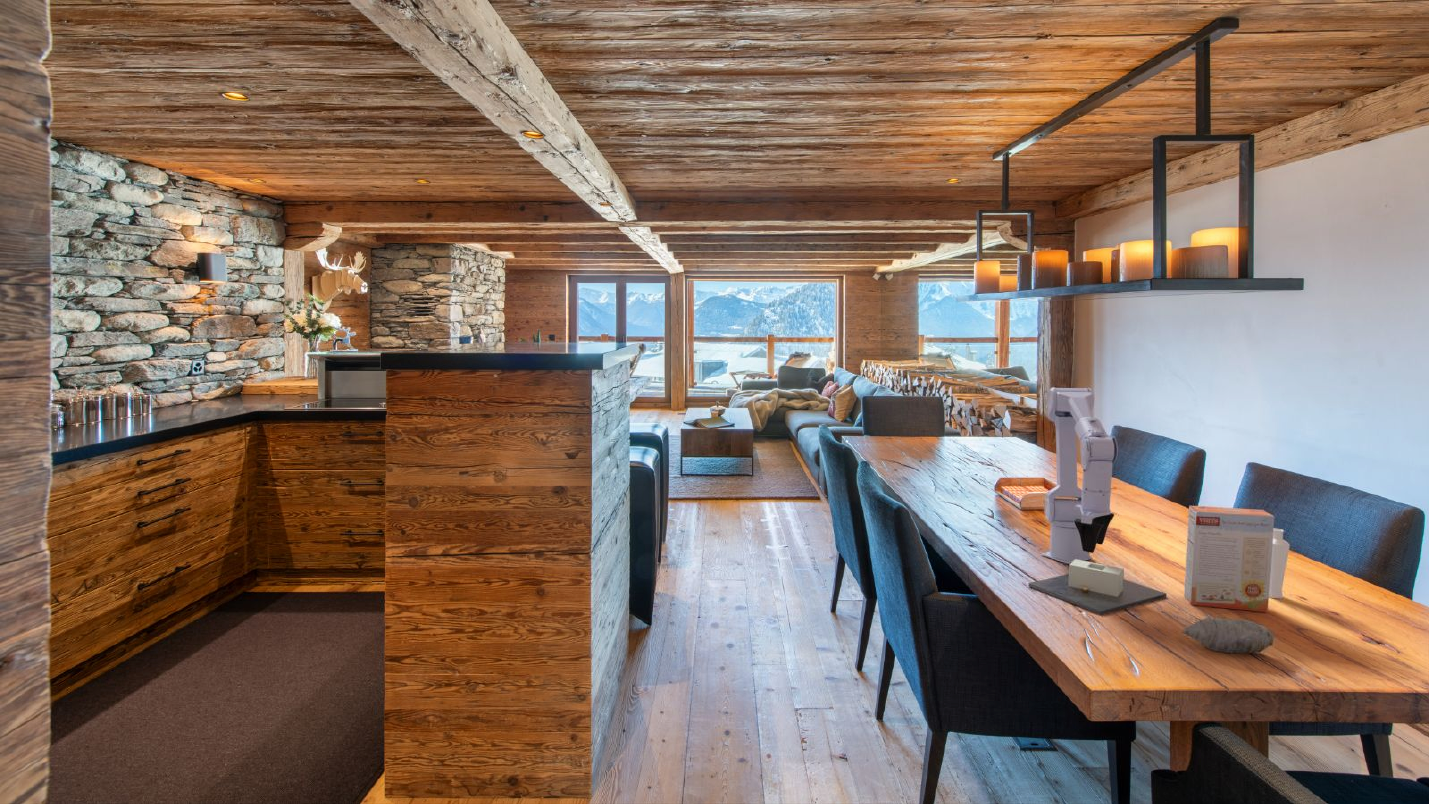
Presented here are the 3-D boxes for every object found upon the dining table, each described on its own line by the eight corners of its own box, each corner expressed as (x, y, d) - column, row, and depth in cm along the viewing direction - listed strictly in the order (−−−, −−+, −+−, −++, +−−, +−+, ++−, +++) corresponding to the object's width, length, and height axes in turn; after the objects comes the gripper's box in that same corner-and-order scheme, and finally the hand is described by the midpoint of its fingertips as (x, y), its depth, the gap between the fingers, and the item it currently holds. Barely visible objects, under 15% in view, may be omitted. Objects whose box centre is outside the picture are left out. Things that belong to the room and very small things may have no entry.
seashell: (1174, 623, 137) (1198, 591, 133) (1247, 656, 134) (1273, 625, 131) (1182, 643, 131) (1207, 610, 128) (1259, 678, 128) (1287, 646, 125)
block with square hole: (1122, 590, 159) (1123, 568, 158) (1117, 596, 155) (1118, 574, 154) (1074, 579, 165) (1075, 559, 165) (1068, 585, 162) (1069, 564, 161)
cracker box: (1257, 603, 153) (1264, 508, 151) (1268, 614, 148) (1276, 516, 145) (1182, 595, 158) (1188, 503, 156) (1190, 605, 152) (1197, 510, 150)
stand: (1092, 571, 173) (1093, 551, 172) (1166, 597, 157) (1167, 575, 156) (1028, 586, 163) (1029, 565, 163) (1100, 615, 147) (1101, 591, 147)
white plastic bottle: (1279, 600, 154) (1285, 534, 153) (1256, 594, 158) (1262, 528, 157) (1290, 597, 156) (1296, 531, 155) (1267, 590, 160) (1272, 526, 159)
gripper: (1085, 481, 168) (1082, 536, 170) (1067, 492, 157) (1064, 551, 159) (1119, 485, 163) (1115, 542, 165) (1103, 497, 153) (1099, 558, 154)
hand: (1092, 547), depth 162 cm, fingers open, 7 cm apart
